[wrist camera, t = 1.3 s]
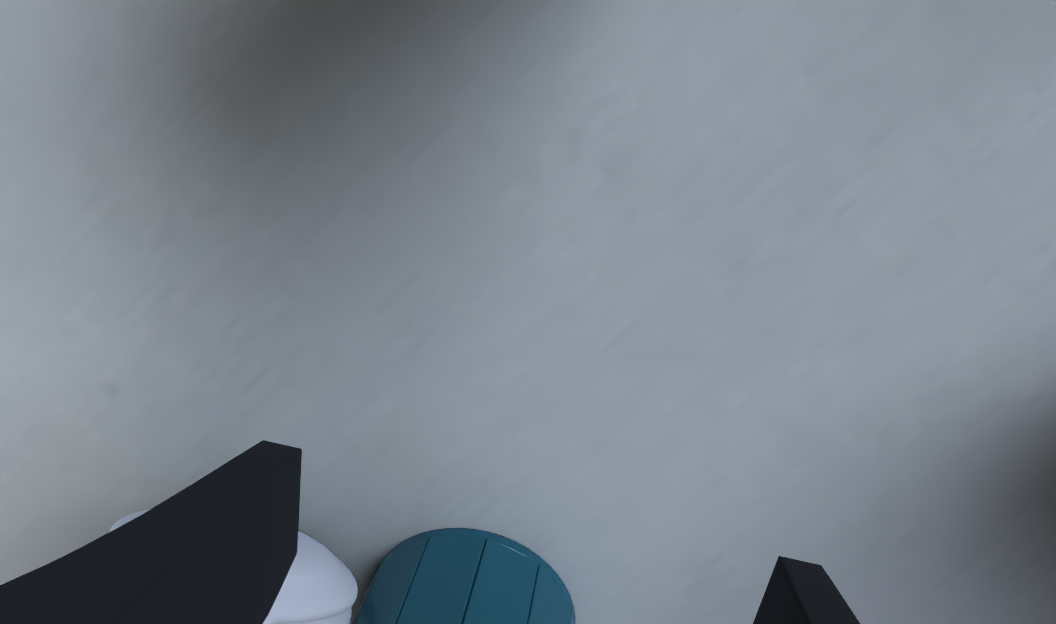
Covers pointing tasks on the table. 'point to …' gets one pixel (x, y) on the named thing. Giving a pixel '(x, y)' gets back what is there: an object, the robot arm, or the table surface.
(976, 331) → the table surface
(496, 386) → the table surface
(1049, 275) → the table surface
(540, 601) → the pot
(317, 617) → the headphones
